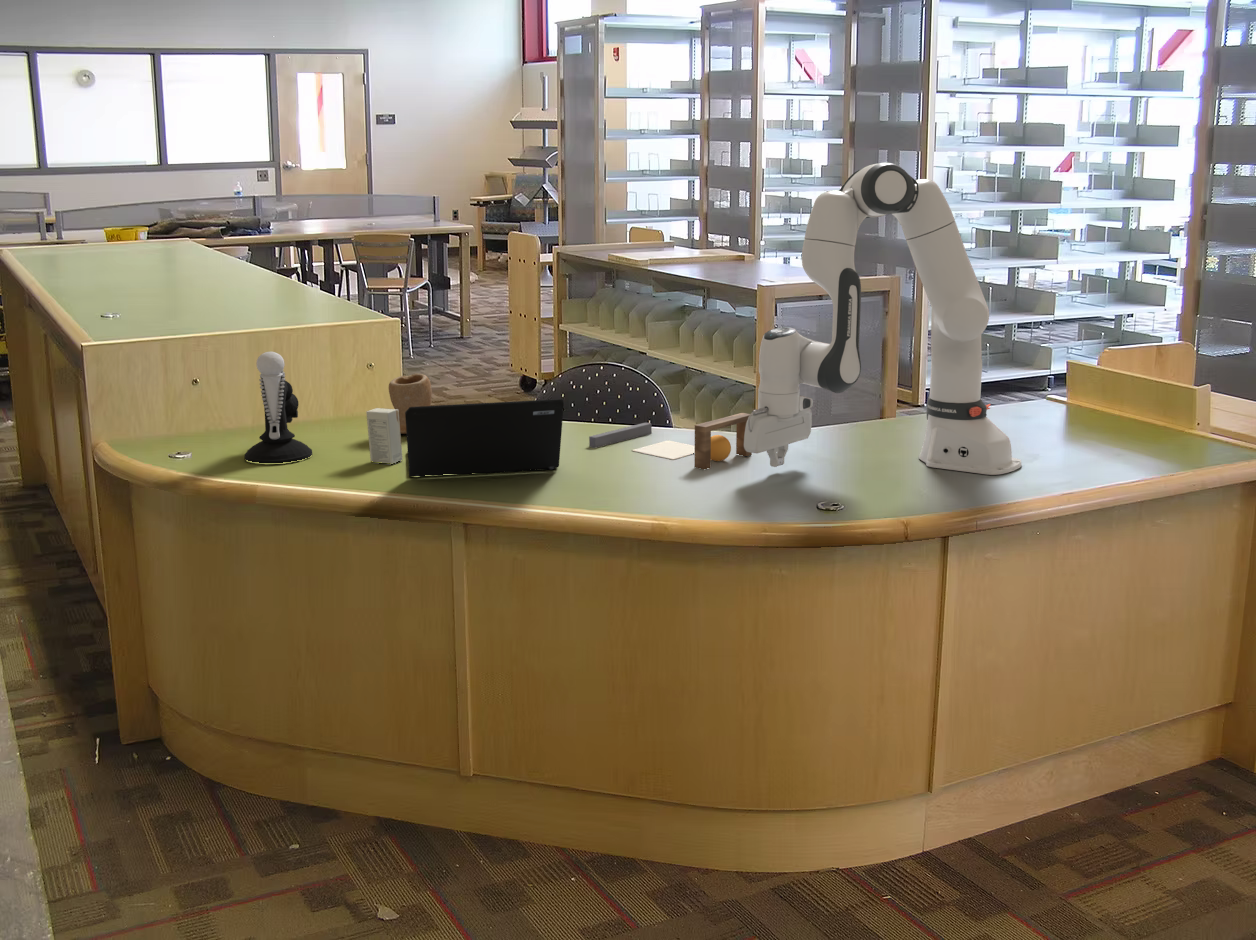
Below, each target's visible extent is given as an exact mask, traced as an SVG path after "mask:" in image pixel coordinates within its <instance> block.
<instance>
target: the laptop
mask: <svg viewBox="0 0 1256 940" xmlns="http://www.w3.org/2000/svg"><path fill="white" fill-rule="evenodd" d="M564 400H565V399H563V398H556V399H554V398H553V399H539V400H537V399H535V400H516V401H501V402H500V401H499V402H497V401H496V402H480V403H479V402H478V403H462V404H461V403H459V404H439V405H438V404H437V405H431V406H419V407H409V409H408V410H407V411H406V412H405V418H406V434H405V435H406V445H407V448H406V449H407V459H408V477H409V476H425V475H443V474H469V475H473V474H472V473H486V474H496V473H495V472H497V474H500V472H502V473H515V472H516V473H518V472H531V471H546V470H555V469H558V468H559V466H560V457H561V456H560V455H561V446H562V445H561V444H562V443H561V442H562V432H563V429H562V428H563V419H564V418H563V417H564V406H565V404H564Z"/></svg>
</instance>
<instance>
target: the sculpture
mask: <svg viewBox="0 0 1256 940" xmlns="http://www.w3.org/2000/svg"><path fill="white" fill-rule="evenodd" d="M284 368H285V359H284V358H283V356H282V355H281V354H280V353H277V352H275V351H266V352H263V353H261V354H260V355H259V356H258V358H257V359H256V369H257V371H259V373H260V374H259V382H260V383H259V385H260V386H259V388H260V389H261V390H260V393H261V395H260V396H261V400H262V402H263V403H262V405H263V409H264V425H265V429H264V432H263V433H262V434H261V435H259V440H261V441H259V442H257V443H255V444H254V445H252V446H251V447H250V448H249V449H247V451H246V453H244V460H245V459H246V460H248V461H252V462H259V463H283V462H291V461H297V460H302V459H305V458H308V457H310V456H311V455H312V456H313V449H312V448H310V447H309V446H308V445H307V444H305V443H303V441H299V440H298V439H294V438H295V433H293V432H292V431H290V430H289V428H288V424H291V423H292V421H293V419H298V417H299V411H298V408H299V400H298V397H297V396H296V395H295V394H294V392H293V386H292V384H291V383H290V382H288V381H287V380H286V372H285V371H284Z"/></svg>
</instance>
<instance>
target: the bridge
mask: <svg viewBox="0 0 1256 940" xmlns="http://www.w3.org/2000/svg"><path fill="white" fill-rule="evenodd" d="M750 414H751V413H746V412H740V413H736V414H732V415H729V416H725V417H721V418H716V419H713V420H710V421H709V420H708V421H706V422H701V423H698V424H695V425H694V446H695V454H694V468H695V467H696V468H695V469H699V468H701V469H700V470H704V469H706V470H708V469H707V468H709V469H711V465H712V463H711V462H712V460H711V437H712V431H715V430H720V429H723V428H726V427H731V426H734V425H736V429H735V430H736V431H735V432H736V435H735V436H736V438H735V441H736V443H735V445H736V448H735V455H736V454H739V455H743V456H749V455H753V453H751V452H747V451H746V450H745V448H744V435H745V427H746V423H747V420H748V417H749V416H750ZM743 456H742V457H743ZM749 457H750V456H749Z"/></svg>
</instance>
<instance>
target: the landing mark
mask: <svg viewBox="0 0 1256 940" xmlns="http://www.w3.org/2000/svg"><path fill="white" fill-rule="evenodd" d="M631 452H634V453H639V454H645V455H649V456H654V457H658V458H663V459H667V460H672V461H675V460H679V459H681V458H684V456H685V457H688V456H687V455H689V456H691V455H690V454H692V455H694V454H693V453H695V445H692V444H688V443H683V442H678V441H674V440H669V439H668V440H667V439H666V440H664V441H660V442H655V443H653V444H649V445H645V446H643V447H642V446H641V447H638V448H635V449H631Z"/></svg>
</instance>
